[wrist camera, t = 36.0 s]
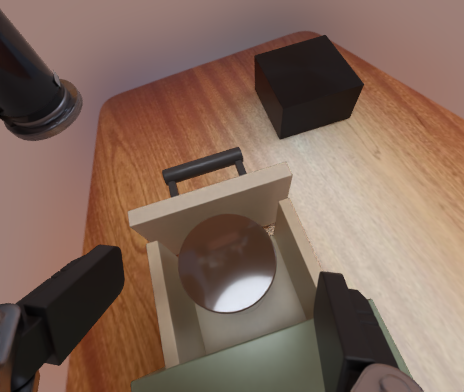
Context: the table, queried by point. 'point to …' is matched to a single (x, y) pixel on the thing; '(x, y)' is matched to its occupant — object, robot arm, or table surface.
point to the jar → (227, 264)
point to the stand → (306, 86)
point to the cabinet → (256, 365)
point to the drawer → (207, 205)
